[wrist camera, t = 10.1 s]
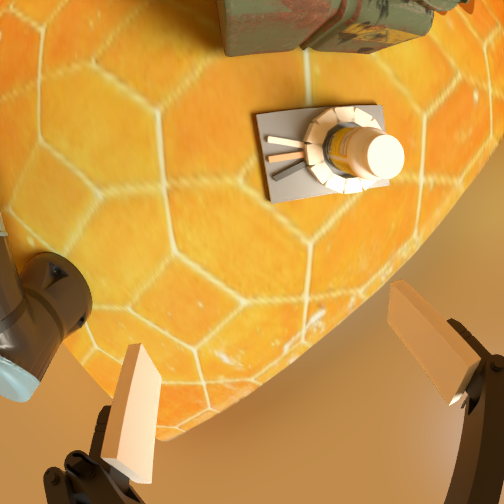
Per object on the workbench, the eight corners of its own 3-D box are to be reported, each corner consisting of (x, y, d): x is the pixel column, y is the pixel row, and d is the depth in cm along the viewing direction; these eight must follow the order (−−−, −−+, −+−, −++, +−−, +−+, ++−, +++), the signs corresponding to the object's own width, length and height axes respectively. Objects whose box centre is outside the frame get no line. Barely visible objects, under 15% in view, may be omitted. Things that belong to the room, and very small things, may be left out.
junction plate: (270, 201, 38) (274, 207, 36) (255, 115, 33) (258, 113, 31) (385, 183, 39) (396, 188, 36) (377, 105, 34) (389, 104, 31)
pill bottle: (369, 164, 36) (414, 178, 26) (331, 176, 36) (368, 194, 26) (358, 122, 33) (403, 122, 23) (318, 133, 34) (353, 134, 24)
